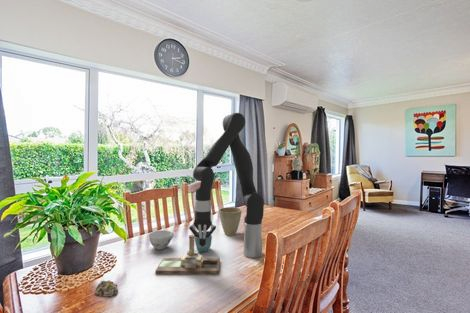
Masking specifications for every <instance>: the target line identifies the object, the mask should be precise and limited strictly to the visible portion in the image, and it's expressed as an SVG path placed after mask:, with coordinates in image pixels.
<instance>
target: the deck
mask: <svg viewBox="0 0 470 313" xmlns="http://www.w3.org/2000/svg"><path fill="white" fill-rule="evenodd" d="M186 255H189V250H187V252H186ZM194 255H199V252H198V250H194ZM196 257H197V256H185V266H181V258H182V257H163V258H162V259H161V261H160V263H159V264H158V266H157V267H156V269H155V273H154V274H155V275H220V274H219V273H220V263H221V259H220V257H217V258H215V257H202V262H201V266H196Z"/></svg>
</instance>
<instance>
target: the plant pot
mask: <svg viewBox="0 0 470 313" xmlns="http://www.w3.org/2000/svg"><path fill="white" fill-rule="evenodd" d="M242 211H243V209H241V208H240V207H233V206H232V207H231V206H229V207H228V206H227V207H222V208H219V209H218V213H219V219H220V223H221V228H222V230H223V233H224V235H225V236H230V237H231V236H235V235H236V234H237V232H238V230H239V226H240V223H241V217H242Z"/></svg>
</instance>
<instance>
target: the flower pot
mask: <svg viewBox="0 0 470 313" xmlns="http://www.w3.org/2000/svg"><path fill="white" fill-rule="evenodd" d="M209 231H210V230H207V231H206V234H208V232H209ZM197 232H198V234H199V231H197ZM202 237H203V231H202ZM212 239H213V236H212V234H211V235H210V236H209V237H207V238H206V244H205V245H204V246H201V245H200V244H199V238H198V237H194V245H195V246H196V249H197V250H196V251H198V253H203V252H204V253H205V252H208V251H209V250H210V249H211V246H212Z"/></svg>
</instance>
